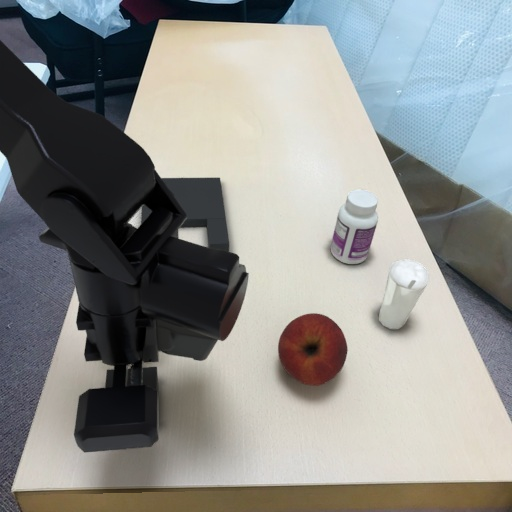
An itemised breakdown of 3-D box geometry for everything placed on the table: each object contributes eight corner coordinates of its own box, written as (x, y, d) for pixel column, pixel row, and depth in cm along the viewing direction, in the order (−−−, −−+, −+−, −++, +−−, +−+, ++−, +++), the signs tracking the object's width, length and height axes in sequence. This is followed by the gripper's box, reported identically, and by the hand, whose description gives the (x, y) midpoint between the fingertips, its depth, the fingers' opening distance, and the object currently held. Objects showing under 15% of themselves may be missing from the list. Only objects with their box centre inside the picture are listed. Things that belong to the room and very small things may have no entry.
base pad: (140, 254, 69) (139, 245, 68) (144, 185, 80) (143, 177, 79) (228, 251, 71) (229, 243, 70) (219, 185, 82) (220, 177, 81)
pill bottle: (369, 245, 74) (386, 191, 68) (364, 269, 70) (381, 214, 64) (333, 236, 75) (346, 182, 68) (326, 259, 71) (339, 204, 65)
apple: (260, 375, 56) (267, 328, 51) (296, 331, 61) (306, 285, 56) (319, 411, 53) (332, 367, 48) (351, 362, 58) (367, 317, 53)
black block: (106, 429, 50) (102, 413, 48) (110, 386, 54) (106, 369, 52) (157, 425, 51) (156, 409, 49) (158, 382, 54) (156, 366, 52)
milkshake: (371, 334, 62) (392, 275, 55) (374, 302, 66) (394, 244, 59) (409, 343, 61) (435, 285, 54) (409, 310, 65) (434, 253, 58)
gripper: (225, 382, 35) (219, 481, 46) (208, 214, 49) (206, 320, 59) (56, 394, 33) (90, 493, 44) (87, 217, 47) (107, 325, 57)
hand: (131, 396), depth 51 cm, fingers open, 9 cm apart
